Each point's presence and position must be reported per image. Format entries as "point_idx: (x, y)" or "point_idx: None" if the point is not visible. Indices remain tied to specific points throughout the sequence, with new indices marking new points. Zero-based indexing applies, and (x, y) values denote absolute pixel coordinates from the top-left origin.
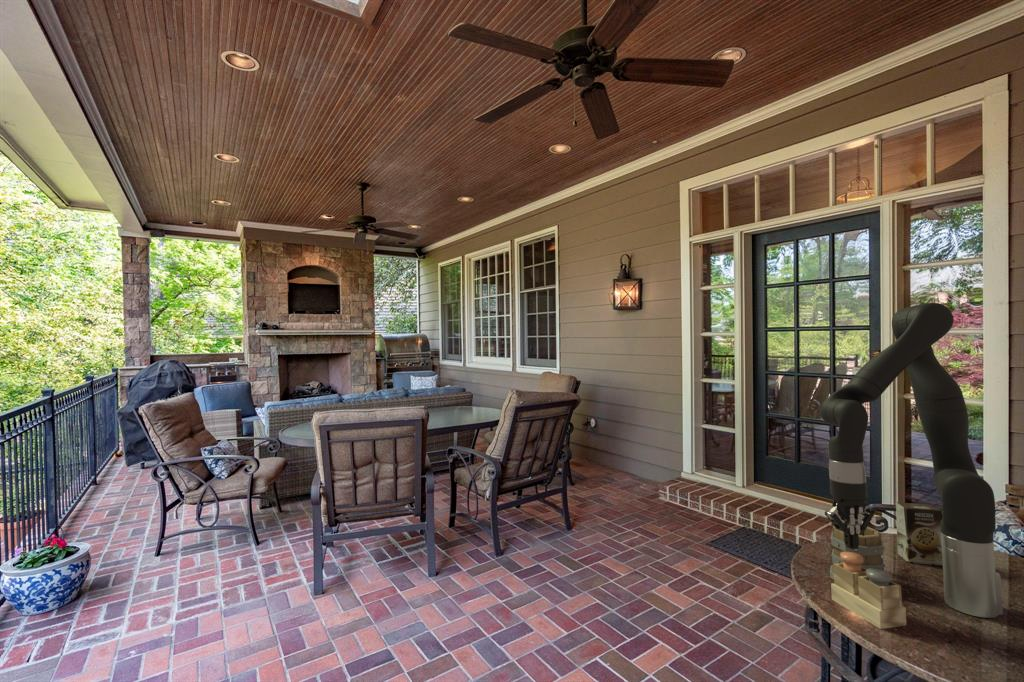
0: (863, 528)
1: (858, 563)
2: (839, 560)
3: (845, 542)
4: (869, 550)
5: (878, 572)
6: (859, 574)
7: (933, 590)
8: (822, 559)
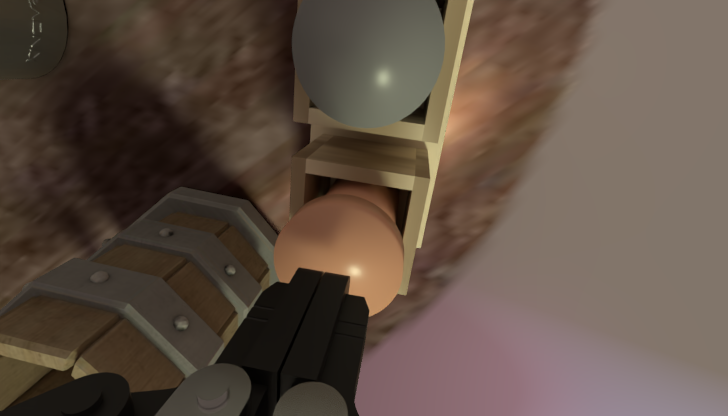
0: (95, 406)
1: (360, 201)
2: None
3: (363, 350)
4: (126, 290)
5: (360, 54)
6: (381, 169)
7: (36, 134)
8: None
